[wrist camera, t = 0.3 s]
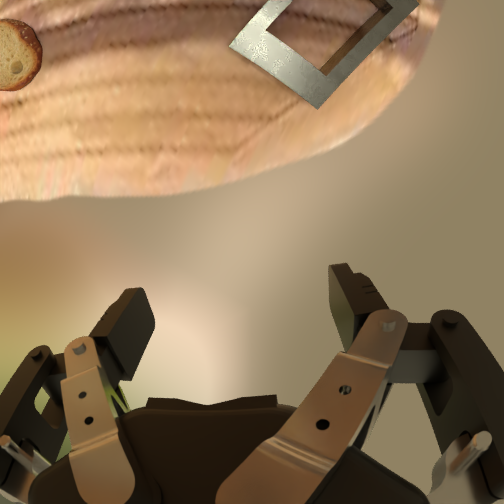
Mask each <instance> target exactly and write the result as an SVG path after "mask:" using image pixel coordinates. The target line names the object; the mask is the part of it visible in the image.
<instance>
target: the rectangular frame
mask: <svg viewBox="0 0 504 504" xmlns="http://www.w3.org/2000/svg"><path fill="white" fill-rule="evenodd" d="M292 1H293V0H269V1H268V2H267V3H266V4H265V5H264V6H263V7H262V8H261V9H260V10H259V11H258V13H257V14H256V15H255V16H254V17H253V18H252V19H251V20H250V22H249V23H248V24H247V25H246V26H245V27H244V28H243V30H242V31H241V32H240V33H239V34H238V36H237V37H236V38H235V39H234V40H233V42H232V43H231V44H230V45H229V47H230V48H232V49H233V50H235V51H237V52H238V53H240V54H242V55H243V56H245V57H246V58H248V59H249V60H251V61H252V62H254V63H255V64H257V65H258V66H260V67H261V68H263V69H264V70H266V71H267V72H269V73H270V74H271V75H273V76H274V77H276V78H277V79H278V80H280V81H281V82H283V83H284V84H285V85H287V86H288V87H289V88H291V89H292V90H293V91H295V92H296V93H297V94H299V95H300V96H301V97H302V98H304V99H305V100H306V101H307V102H309V103H310V104H311V105H312V106H314V107H315V108H316V109H317V110H318V109H319V108H320V106H321V105H322V104H323V103H324V102H325V101H326V100H327V99H328V98H329V96H330V95H331V94H332V93H333V92H334V91H335V90H336V89H337V88H338V87H339V86H340V85H341V83H342V82H343V81H344V80H345V79H346V78H347V77H348V76H349V75H350V74H351V73H352V72H353V71H354V70H355V68H356V67H357V66H358V65H359V64H360V63H361V62H362V61H363V60H364V59H365V58H366V57H367V56H368V55H369V54H370V53H371V52H372V51H373V50H374V49H375V48H376V47H377V46H378V45H379V44H380V43H381V42H382V41H383V40H384V39H385V38H386V37H387V36H388V35H389V34H390V33H391V32H392V31H393V30H394V29H395V28H396V27H397V26H398V25H399V24H400V23H401V22H402V21H403V20H404V19H405V18H406V17H407V16H408V15H409V14H410V13H411V12H412V11H413V10H414V9H415V8H416V7H417V6H418V5H419V3H418V2H417V1H416V0H370V1H371V2H372V3H373V4H374V5H375V6H376V7H377V8H378V9H379V10H378V11H377V12H376V13H375V14H374V15H373V16H372V17H371V18H370V19H369V20H368V21H366V22H365V23H364V24H363V25H362V26H361V27H360V28H359V29H358V30H357V31H356V32H355V33H354V34H353V35H352V36H351V38H350V39H349V40H348V41H347V42H346V43H345V44H344V45H343V46H342V47H341V48H340V49H339V50H338V51H337V52H336V53H335V54H334V55H333V56H332V57H331V58H330V59H329V61H328V62H327V63H326V64H325V65H324V66H323V67H322V68H321V69H320V70H318V69H317V68H316V67H314V66H313V65H312V64H311V63H309V62H308V61H307V60H306V59H304V58H303V57H302V56H300V55H299V54H298V53H296V52H295V51H294V50H292V49H291V48H290V47H288V46H287V45H286V44H284V43H283V42H281V41H280V40H279V39H277V38H276V37H274V36H273V35H271V34H270V33H268V32H267V31H266V28H267V27H268V26H269V25H270V24H271V23H272V22H273V21H274V20H275V19H276V18H277V16H278V15H279V14H280V13H281V12H282V11H283V10H284V9H285V8H286V7H287V6H288V5H289V4H290V3H291V2H292Z"/></svg>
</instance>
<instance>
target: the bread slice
mask: <svg viewBox="0 0 504 504" xmlns="http://www.w3.org/2000/svg"><path fill="white" fill-rule="evenodd" d="M42 52H43V50H42V46H41V45H40V43H39V42H38V40H37V39H36V37H35V34H34V32H33V30H32V29H31V28H30V27H29V26H28V25H26V24H25V23H24V22H20V21H16V20H10V19H2V20H0V91H17V90H20V89H21V88H23V87H24V86H26V85H27V84H28V83H29V82H30V81H31V80H32V79H33V77H34V76H35V75H36V74H37V73H38V72H39V70H40V68H41V63H42Z"/></svg>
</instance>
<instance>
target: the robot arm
mask: <svg viewBox="0 0 504 504" xmlns="http://www.w3.org/2000/svg"><path fill="white" fill-rule="evenodd" d="M328 270H329V271H328V272H329V273H328V274H329V303H330V309H331V313H332V316H333V318H334V321H335V324H336V326H337V329H338V332H339V335H340V338H341V341H342V344H343V347H344V350H345V352H342V351H340V352H339V353H338V354H337V355H336V356H335V358H334V359H333V360H332V362H331V363H330V365H329V366H328V368H327V369H326V370H325V372H324V373H323V375H322V376H321V377H320V379H319V380H318V382H317V383H316V384H315V386H314V387H313V389H312V390H311V391H310V392H309V394H308V395H307V397H306V398H305V399H304V400H303V402H302V403H301V404H300V405H299V407H298V408H296V407H293V406H288V405H283V404H278V402H277V395H265V396H253V397H241V398H237V399H234V400H229V401H225V402H221V403H217V404H212V405H203V404H198V403H193V402H189V401H185V400H180V399H175V398H150V397H149V398H148V401H147V404H146V407H141V408H137V409H134V410H130V407H129V405H128V403H127V400H126V398H125V396H124V393H123V391H122V389H121V387H120V386H119V382H120V380H123V381H132V378H133V376H134V374H135V371H136V369H137V367H138V365H139V362H140V360H141V358H142V355H143V353H144V351H145V349H146V347H147V344H148V342H149V340H150V338H151V336H152V333H153V331H154V329H155V319H154V315H153V312H152V310H151V307H150V305H149V302H148V299H147V296H146V293H145V291H144V289H143V288H141V287H140V288H129V289H125V290H124V292H123V293H122V294H121V296H120V297H119V299H118V300H117V301H116V302H114V303H113V304H112V305H111V306H109V308H108V309H107V310H106V312H105V314H104V315H103V316H102V317H101V320H100V321H98V323H97V324H96V326H95V327H94V329H93V330H92V332H91V333H90V334H89V336H84V337H79V338H77V339H75V340H73V341H72V342H70V343H69V344H68V345H67V347H66V348H65V351H64V353H61V354H56V355H53V353H52V351H51V350H50V348H49V347H48V346H46V345H42V346H38V347H36V348H34V349H33V350H31V351H30V352H29V353H28V355H27V356H26V357H25V359H24V360H23V362H22V363H21V364H20V366H19V367H18V369H17V370H16V372H15V373H14V375H13V376H12V378H11V379H10V381H9V382H8V384H7V385H6V387H5V388H4V390H3V392H2V393H1V395H0V494H1V495H2V496H4V497H5V498H7V499H9V500H10V501H12V502H14V503H16V504H503V503H504V372H503V370H502V368H501V367H500V365H499V364H498V362H497V361H496V359H495V358H494V356H493V355H492V353H491V352H490V350H489V349H488V347H487V346H486V345H485V343H484V342H483V340H482V339H481V338H480V336H479V335H478V333H477V332H476V331H475V329H474V328H473V327H472V325H471V324H470V323H469V322H468V320H467V319H466V318H465V317H464V316H463V315H462V314H461V313H459V312H457V311H453V310H440V311H437V312H436V313H434V314H433V316H432V318H431V322H430V323H409V322H408V320H407V318H406V317H405V316H404V315H403V314H402V313H400V312H398V311H395V310H391V309H389V307H388V306H387V304H386V303H385V301H384V300H383V298H382V296H381V295H380V293H379V292H378V291H377V289H376V287H375V286H374V285H373V283H372V281H371V280H370V278H368V277H367V276H365V275H364V274H362V273H353V272H352V270H351V269H350V267H349V265H348V264H347V263H341V264H335V265H329V269H328ZM394 383H416V385H417V388H418V390H419V393H420V395H421V398H422V400H423V403H424V406H425V408H426V410H427V413H428V416H429V419H430V422H431V424H432V427H433V430H434V433H435V436H436V439H437V442H438V445H439V448H440V451H441V454H442V456H441V458H439V460H438V461H437V462H436V463H435V465H434V467H433V470H432V487H431V491H430V493H429V494H428V495H427V496H426V495H425V494H424V493H423V492H422V491H421V490H420V489H419V488H418V487H416V486H415V485H413V484H412V483H410V482H408V481H407V480H405V479H403V478H402V477H400V476H399V475H397V474H395V473H394V472H392V471H391V470H389V469H387V468H386V467H385V466H383V465H382V464H380V463H378V462H377V461H376V460H374V459H373V458H371V457H370V456H368V455H367V454H365V453H364V452H362V450H363V448H364V446H365V444H366V443H367V441H368V439H369V437H370V435H371V432H372V430H373V428H374V425H375V423H376V421H377V419H378V417H379V415H380V413H381V410H382V409H383V406H384V404H385V402H386V400H387V398H388V395H389V393H390V391H391V389H392V386H393V384H394ZM41 387H43V389H44V390H45V391H46V393H47V394H48V395H49V396H50V399H49V400H48V402H47V404H46V406H45V408H44V410H43V412H42V414H41V415H40V414H39V412H38V411H37V410H36V408H35V404H34V400H35V397H36V396H37V394H38V392H39V390H40V389H41ZM67 431H68V432H69V437H70V442H71V445H72V450H71V451H70V453H68V454H67V455H65V456H64V457H63V458H61V459H60V460H58V461H57V462H55V461H56V459H57V456H58V454H59V451H60V448H61V445H62V443H63V441H64V438H65V436H66V433H67Z"/></svg>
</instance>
